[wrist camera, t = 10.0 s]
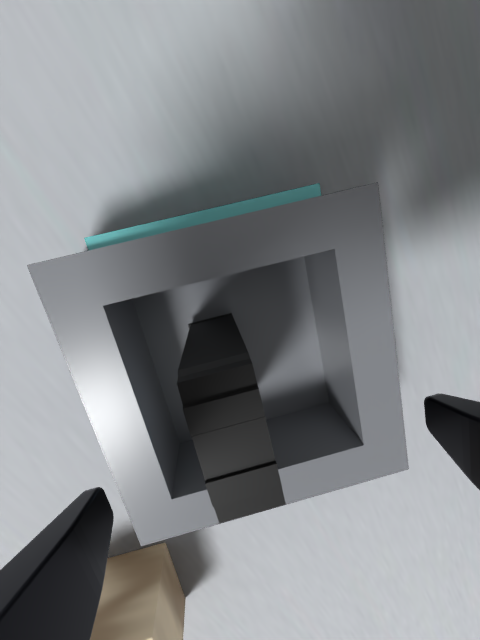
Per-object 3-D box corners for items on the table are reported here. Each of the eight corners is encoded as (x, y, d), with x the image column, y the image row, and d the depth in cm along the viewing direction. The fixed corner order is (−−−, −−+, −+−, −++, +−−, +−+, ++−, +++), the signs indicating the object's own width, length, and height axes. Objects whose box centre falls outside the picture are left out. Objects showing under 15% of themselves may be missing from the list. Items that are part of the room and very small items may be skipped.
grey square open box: (328, 191, 15) (376, 168, 11) (361, 418, 19) (408, 469, 14) (75, 250, 15) (20, 250, 10) (156, 474, 18) (141, 546, 14)
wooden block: (165, 540, 19) (152, 637, 15) (185, 596, 21) (179, 703, 16) (88, 562, 19) (48, 668, 14) (112, 618, 20) (83, 732, 15)
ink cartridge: (188, 320, 16) (170, 384, 8) (231, 310, 16) (253, 362, 8) (211, 404, 17) (215, 532, 9) (251, 394, 17) (288, 511, 9)
